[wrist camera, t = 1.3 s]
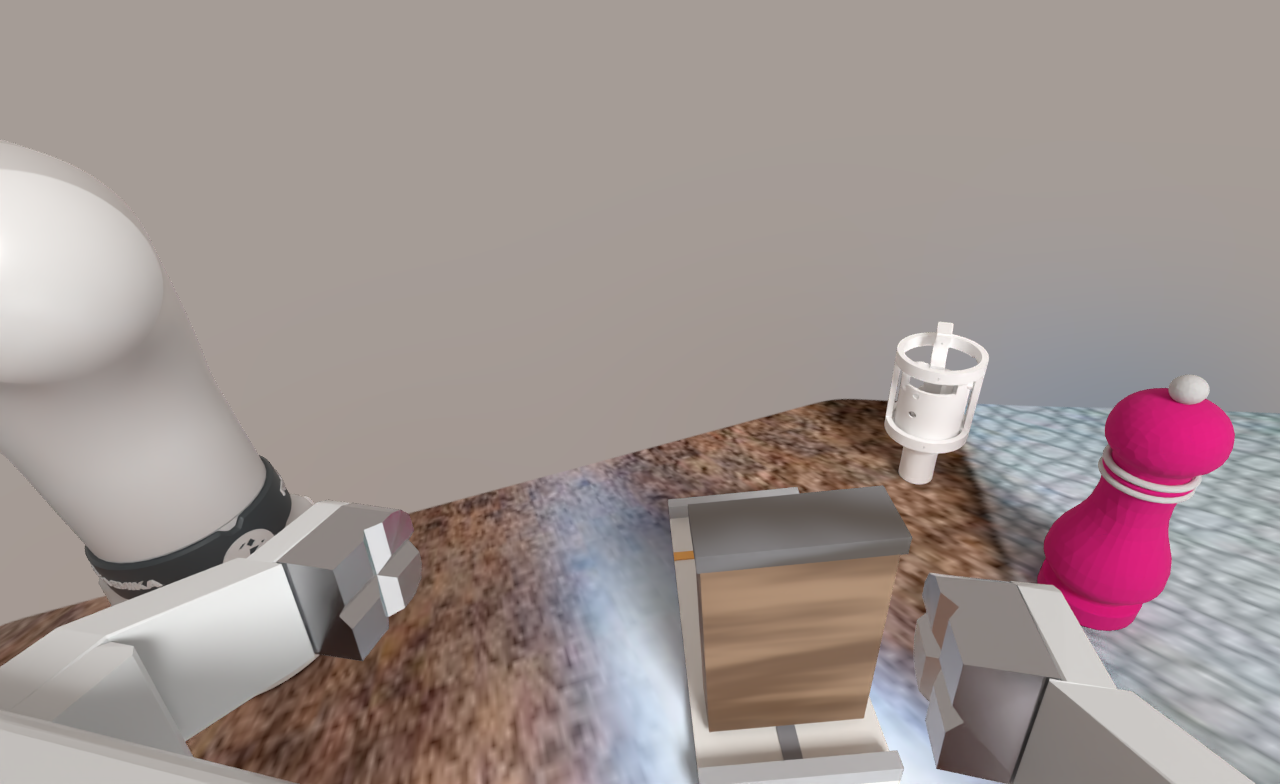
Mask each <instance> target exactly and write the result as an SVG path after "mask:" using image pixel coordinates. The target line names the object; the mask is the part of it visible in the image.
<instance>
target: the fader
mask: <svg viewBox="0 0 1280 784" xmlns="http://www.w3.org/2000/svg"><path fill="white" fill-rule="evenodd" d="M688 517H689V526H690V533H691V539H692V546H693V553H694V560H695V566H696V580H697V596H698V612H699V628H700V644H701V660H702V677H703V690H704V697H705V705H706V712H707V720H708V727H709V732H717V731H728V730H740V729H751V728H762V727H773V726H784V725H796V724H807V723H818V722H829V721H840V720H852V719H863V718H864V716H865V711H866V707H867V702H868V698H869V693H870V689H871V684H872V680H873V675H874V671H875V666H876V662H877V657H878V653H879V648H880V644H881V639H882V635H883V630H884V626H885V621H886V617H887V612H888V608H889V603H890V599H891V595H892V590H893V586H894V581H895V577H896V572H897V568H898V563H899V559H900V555H902V554H908V552H909V548H910V544H911V540H912V536H911V534H910V532H909V531H908V529H907V527H906V525H905V523H904V522H903V520H902V518H901V516H900V515H899V513H898V511H897V509H896V507H895V506H894V504H893V502H892V500H891V498H890V497H889V495H888V493H887V491H886V490H885V488H884V486H873V487H863V488H853V489H842V490H832V491H822V492H811V493H801V494H791V495H780V496H770V497H760V498H749V499H739V500H728V501H718V502H708V503H697V504H688Z"/></svg>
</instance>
